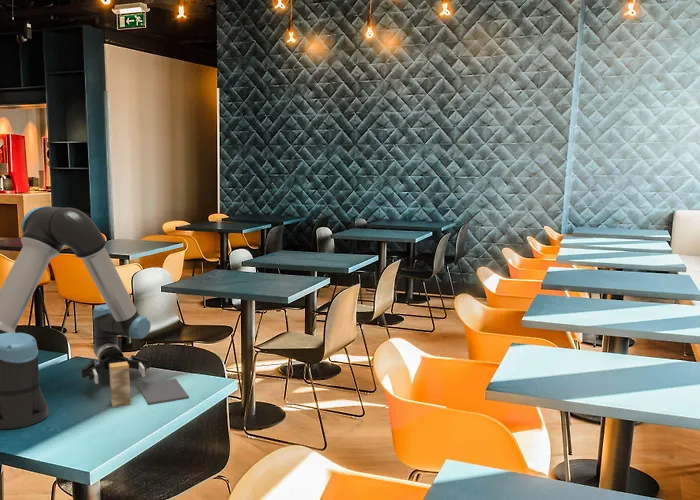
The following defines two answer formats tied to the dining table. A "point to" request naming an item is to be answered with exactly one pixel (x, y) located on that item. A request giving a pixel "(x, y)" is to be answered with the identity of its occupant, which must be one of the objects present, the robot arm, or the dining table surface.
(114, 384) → the maple block
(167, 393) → the rubber mat
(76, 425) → the dining table surface
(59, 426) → the dining table surface
